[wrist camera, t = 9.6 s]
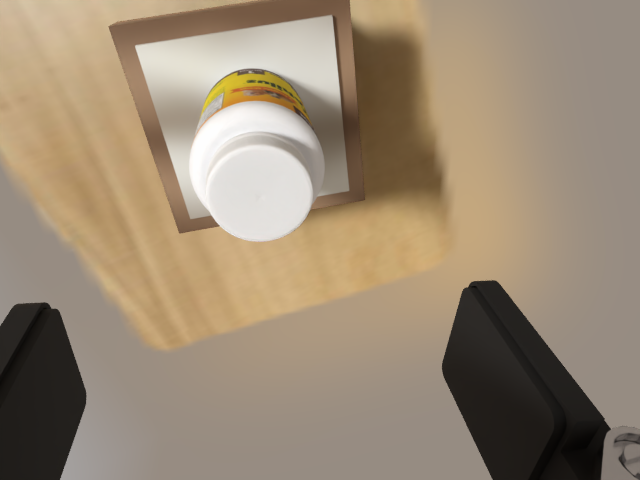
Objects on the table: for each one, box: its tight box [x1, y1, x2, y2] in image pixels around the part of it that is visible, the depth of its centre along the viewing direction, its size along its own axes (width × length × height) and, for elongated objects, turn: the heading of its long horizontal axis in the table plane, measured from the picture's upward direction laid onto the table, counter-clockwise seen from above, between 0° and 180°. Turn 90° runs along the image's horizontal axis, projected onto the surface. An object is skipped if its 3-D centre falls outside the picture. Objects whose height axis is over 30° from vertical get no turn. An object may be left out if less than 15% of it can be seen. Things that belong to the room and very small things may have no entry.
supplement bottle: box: [189, 68, 325, 242], centre depth 21 cm, size 6×6×10 cm
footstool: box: [109, 0, 365, 233], centre depth 29 cm, size 12×12×8 cm
